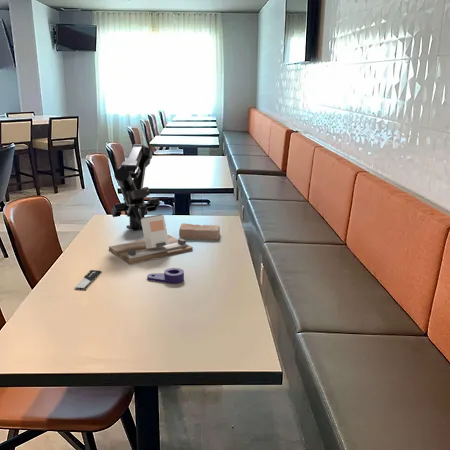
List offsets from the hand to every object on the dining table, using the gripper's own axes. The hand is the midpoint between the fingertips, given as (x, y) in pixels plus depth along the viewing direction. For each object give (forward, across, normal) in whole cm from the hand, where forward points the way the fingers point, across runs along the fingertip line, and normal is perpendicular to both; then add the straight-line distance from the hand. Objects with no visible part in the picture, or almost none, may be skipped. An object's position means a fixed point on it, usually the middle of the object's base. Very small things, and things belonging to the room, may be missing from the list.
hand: (143, 225), depth 180 cm
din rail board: (+9, 0, +2) cm, 10 cm away
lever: (+29, -8, -16) cm, 34 cm away
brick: (+7, +25, +6) cm, 27 cm away
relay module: (+11, +1, -4) cm, 12 cm away
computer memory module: (+20, -29, -7) cm, 36 cm away
